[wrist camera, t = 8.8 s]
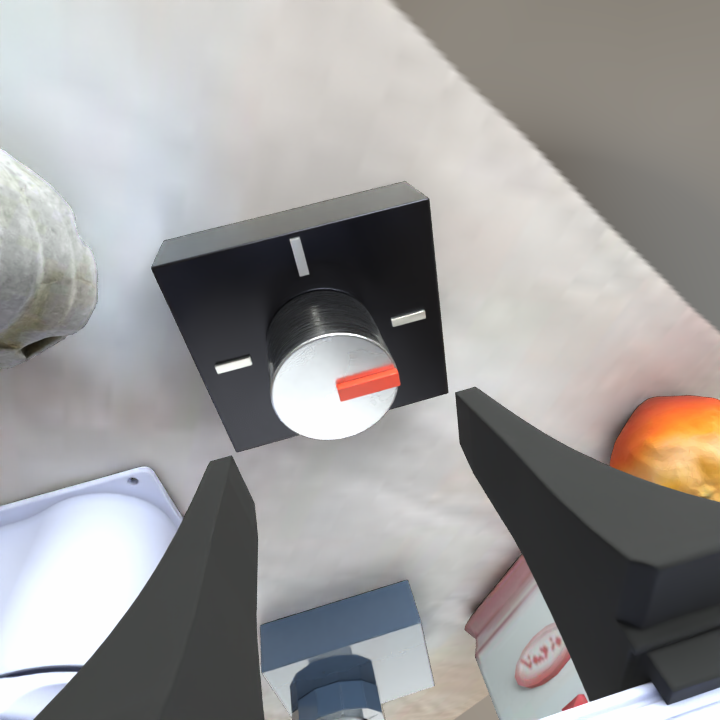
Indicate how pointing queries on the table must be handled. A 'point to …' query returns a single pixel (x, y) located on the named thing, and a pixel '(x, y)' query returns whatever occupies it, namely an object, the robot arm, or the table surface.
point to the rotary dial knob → (328, 367)
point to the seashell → (39, 266)
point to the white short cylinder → (351, 718)
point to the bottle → (523, 651)
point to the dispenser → (347, 656)
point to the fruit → (673, 444)
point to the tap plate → (300, 276)
